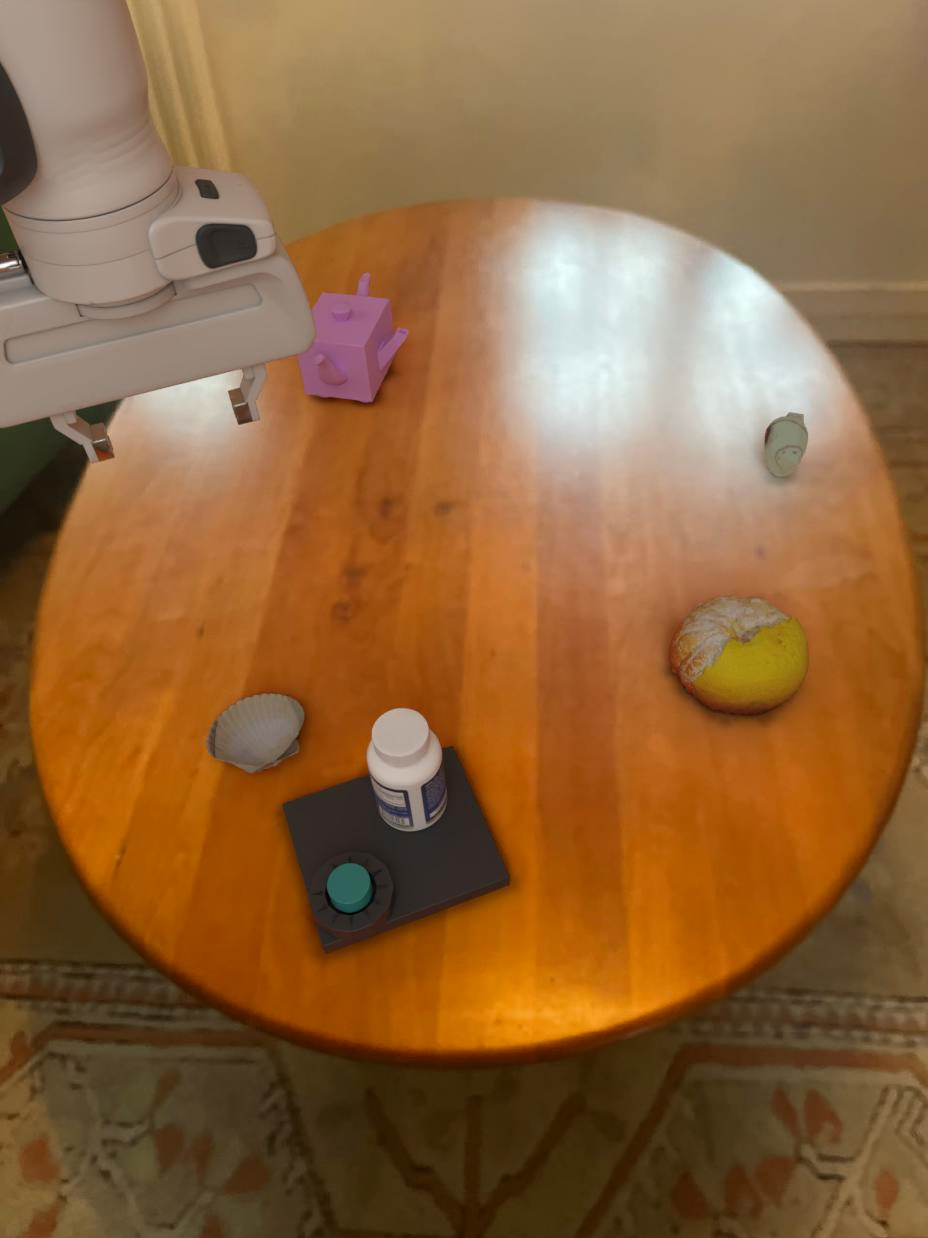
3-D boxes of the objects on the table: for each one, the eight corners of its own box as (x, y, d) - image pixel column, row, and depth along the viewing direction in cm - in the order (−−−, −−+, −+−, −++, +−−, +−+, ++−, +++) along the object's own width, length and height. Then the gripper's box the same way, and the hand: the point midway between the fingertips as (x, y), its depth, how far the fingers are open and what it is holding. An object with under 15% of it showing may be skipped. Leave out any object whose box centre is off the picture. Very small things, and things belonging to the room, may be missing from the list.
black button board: (326, 960, 67) (320, 944, 64) (285, 812, 74) (277, 793, 72) (512, 890, 69) (512, 872, 67) (453, 754, 77) (451, 734, 75)
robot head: (794, 503, 94) (810, 449, 89) (752, 496, 95) (765, 443, 90) (799, 451, 99) (815, 398, 94) (759, 445, 100) (773, 392, 94)
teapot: (390, 439, 103) (380, 362, 95) (276, 424, 105) (258, 348, 98) (434, 344, 114) (428, 268, 106) (330, 332, 116) (317, 258, 109)
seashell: (290, 707, 83) (197, 726, 80) (290, 680, 81) (195, 698, 78) (319, 771, 77) (220, 794, 74) (320, 743, 75) (218, 766, 72)
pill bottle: (435, 762, 75) (426, 690, 67) (456, 820, 72) (450, 751, 64) (369, 782, 74) (353, 711, 66) (387, 842, 71) (372, 774, 63)
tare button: (336, 919, 66) (333, 910, 65) (325, 881, 68) (322, 871, 66) (378, 904, 66) (375, 894, 65) (365, 866, 68) (363, 856, 67)
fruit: (781, 610, 85) (811, 571, 77) (801, 724, 80) (835, 694, 73) (656, 614, 84) (673, 576, 77) (669, 728, 80) (689, 699, 73)
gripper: (-100, 307, 47) (14, 511, 58) (301, 218, 51) (338, 424, 62) (-98, 247, 51) (8, 448, 61) (274, 169, 55) (313, 371, 65)
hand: (176, 436), depth 62 cm, fingers open, 8 cm apart
